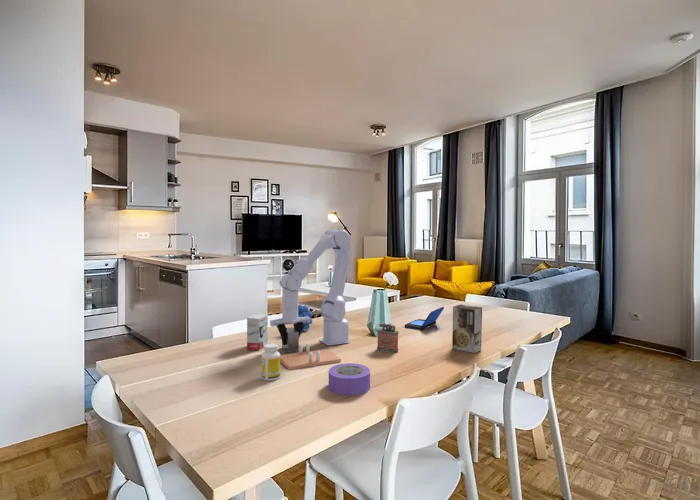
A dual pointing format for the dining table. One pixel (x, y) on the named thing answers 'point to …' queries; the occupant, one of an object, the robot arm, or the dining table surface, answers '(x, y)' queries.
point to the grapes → (304, 315)
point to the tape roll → (349, 379)
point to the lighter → (387, 338)
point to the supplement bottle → (270, 362)
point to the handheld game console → (429, 321)
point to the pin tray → (308, 358)
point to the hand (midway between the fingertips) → (290, 343)
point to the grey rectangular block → (291, 340)
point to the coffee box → (467, 328)
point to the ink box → (257, 331)
